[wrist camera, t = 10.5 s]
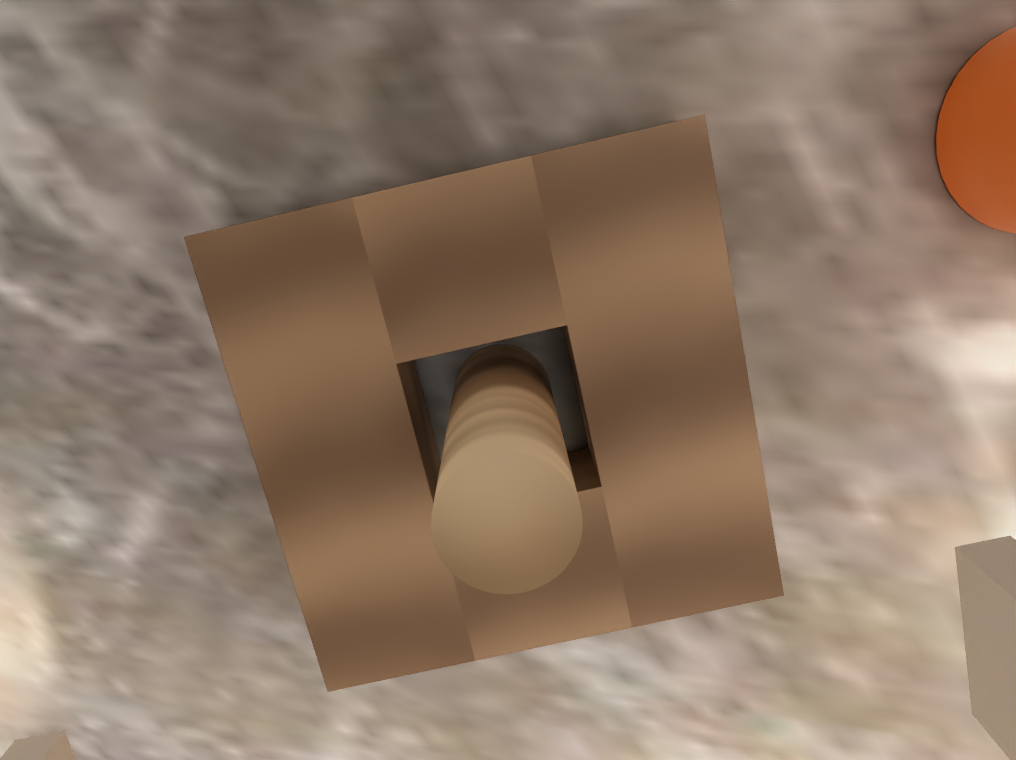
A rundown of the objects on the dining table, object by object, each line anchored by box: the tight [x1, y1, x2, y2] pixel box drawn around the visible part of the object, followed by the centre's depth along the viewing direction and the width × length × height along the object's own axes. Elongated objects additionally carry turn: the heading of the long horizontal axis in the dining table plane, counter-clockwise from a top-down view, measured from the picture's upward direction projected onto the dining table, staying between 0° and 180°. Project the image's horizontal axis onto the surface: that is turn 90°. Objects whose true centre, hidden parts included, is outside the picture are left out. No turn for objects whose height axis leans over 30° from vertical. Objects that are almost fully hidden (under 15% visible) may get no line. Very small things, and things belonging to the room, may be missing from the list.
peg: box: [431, 345, 583, 594], centre depth 26 cm, size 4×4×12 cm
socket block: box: [184, 115, 784, 692], centre depth 30 cm, size 16×16×4 cm
